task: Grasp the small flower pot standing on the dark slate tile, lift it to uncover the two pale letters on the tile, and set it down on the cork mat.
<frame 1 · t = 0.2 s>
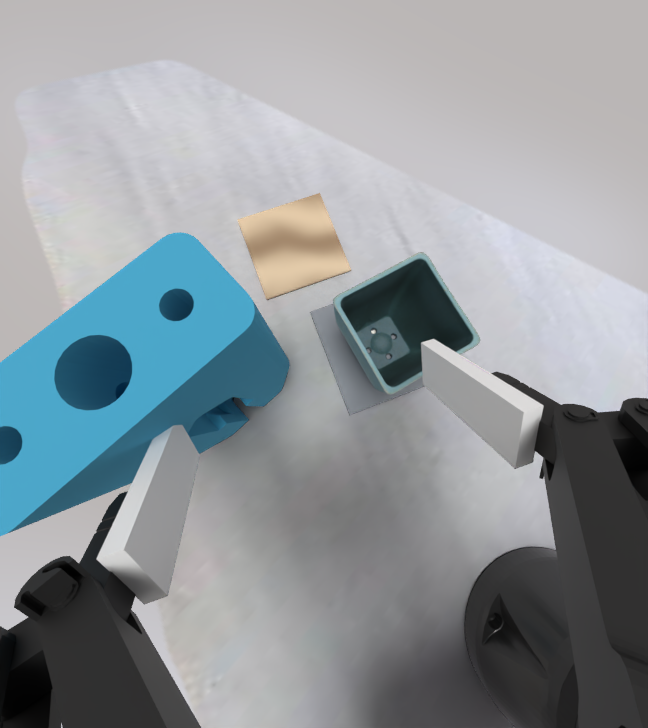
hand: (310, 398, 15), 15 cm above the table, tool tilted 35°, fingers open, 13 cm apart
block: (241, 395, 30), on the table, touching gripper
flower pot: (380, 343, 31), resting on code tile
code tile: (380, 343, 31), on the table
cork mat: (294, 245, 32), on the table
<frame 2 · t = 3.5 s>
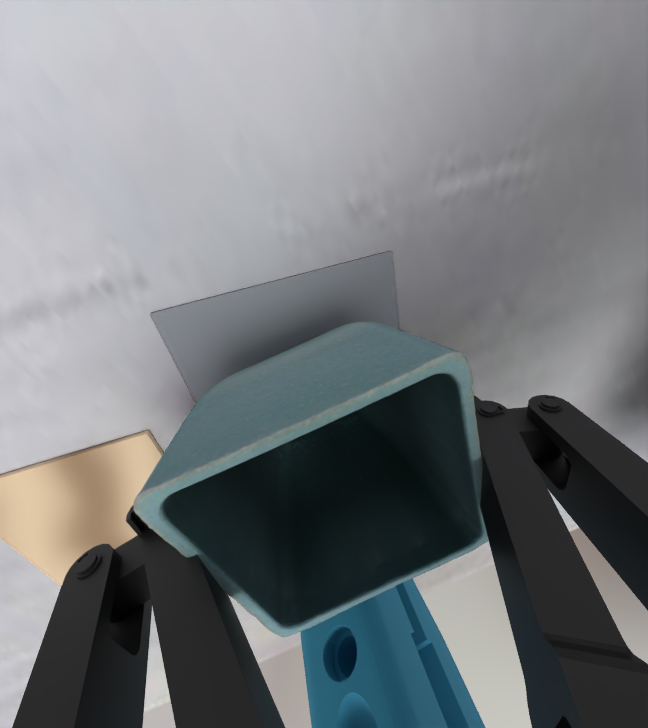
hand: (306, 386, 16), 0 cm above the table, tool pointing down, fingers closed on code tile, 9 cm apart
block: (349, 537, 24), on the table
flower pot: (305, 383, 17), resting on code tile, touching gripper
code tile: (305, 382, 17), on the table
cork mat: (105, 516, 17), on the table
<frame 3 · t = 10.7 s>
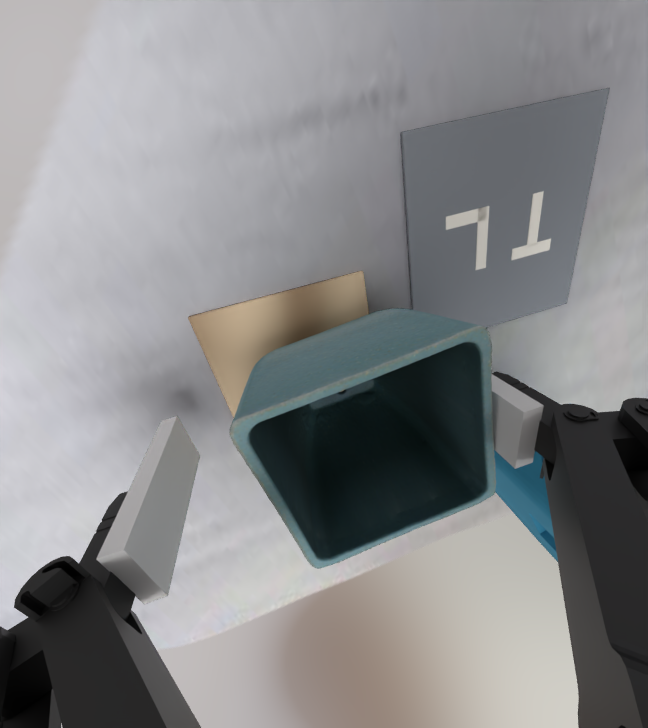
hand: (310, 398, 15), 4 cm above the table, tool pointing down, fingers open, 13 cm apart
block: (482, 428, 25), on the table
flower pot: (331, 365, 19), resting on cork mat, touching gripper
code tile: (498, 234, 18), on the table
cork mat: (299, 368, 18), on the table
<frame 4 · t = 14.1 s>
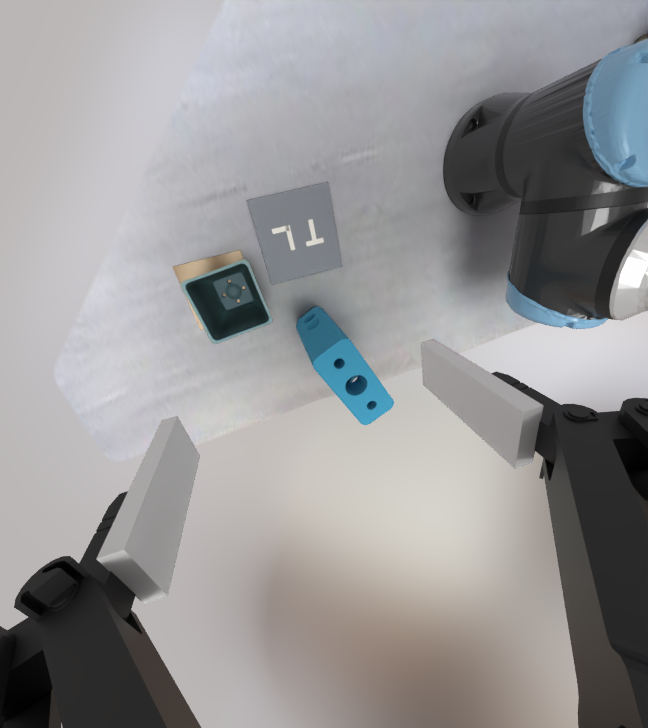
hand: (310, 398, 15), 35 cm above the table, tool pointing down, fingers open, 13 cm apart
block: (320, 330, 51), on the table
flower pot: (233, 290, 45), resting on cork mat
code tile: (298, 235, 43), on the table
cork mat: (219, 291, 44), on the table
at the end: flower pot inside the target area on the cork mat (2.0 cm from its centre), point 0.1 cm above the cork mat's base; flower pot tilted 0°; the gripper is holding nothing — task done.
